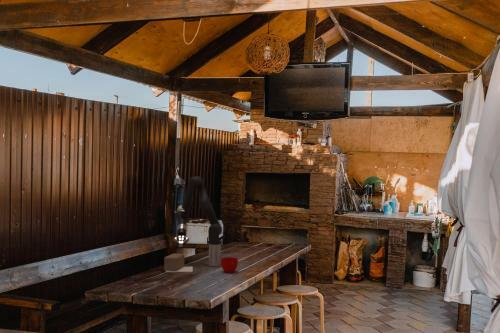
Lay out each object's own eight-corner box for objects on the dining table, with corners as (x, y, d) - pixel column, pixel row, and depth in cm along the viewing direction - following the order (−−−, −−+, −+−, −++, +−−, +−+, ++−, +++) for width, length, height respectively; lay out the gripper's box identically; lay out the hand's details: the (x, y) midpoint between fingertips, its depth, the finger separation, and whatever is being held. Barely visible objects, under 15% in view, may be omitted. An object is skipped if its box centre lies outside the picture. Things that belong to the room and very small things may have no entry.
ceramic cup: (223, 274, 374) (224, 261, 374) (219, 270, 390) (219, 257, 390) (240, 274, 377) (241, 260, 377) (235, 270, 394) (235, 257, 394)
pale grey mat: (193, 267, 401) (193, 266, 401) (192, 272, 382) (192, 271, 382) (167, 267, 399) (167, 266, 399) (165, 272, 380) (165, 271, 380)
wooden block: (184, 266, 401) (176, 271, 382) (172, 265, 403) (163, 270, 384) (184, 253, 402) (176, 257, 382) (172, 253, 403) (163, 257, 384)
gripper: (173, 227, 411) (172, 245, 399) (189, 227, 412) (189, 245, 400) (173, 233, 416) (172, 250, 404) (190, 233, 417) (189, 251, 405)
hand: (180, 248), depth 402 cm, fingers closed
